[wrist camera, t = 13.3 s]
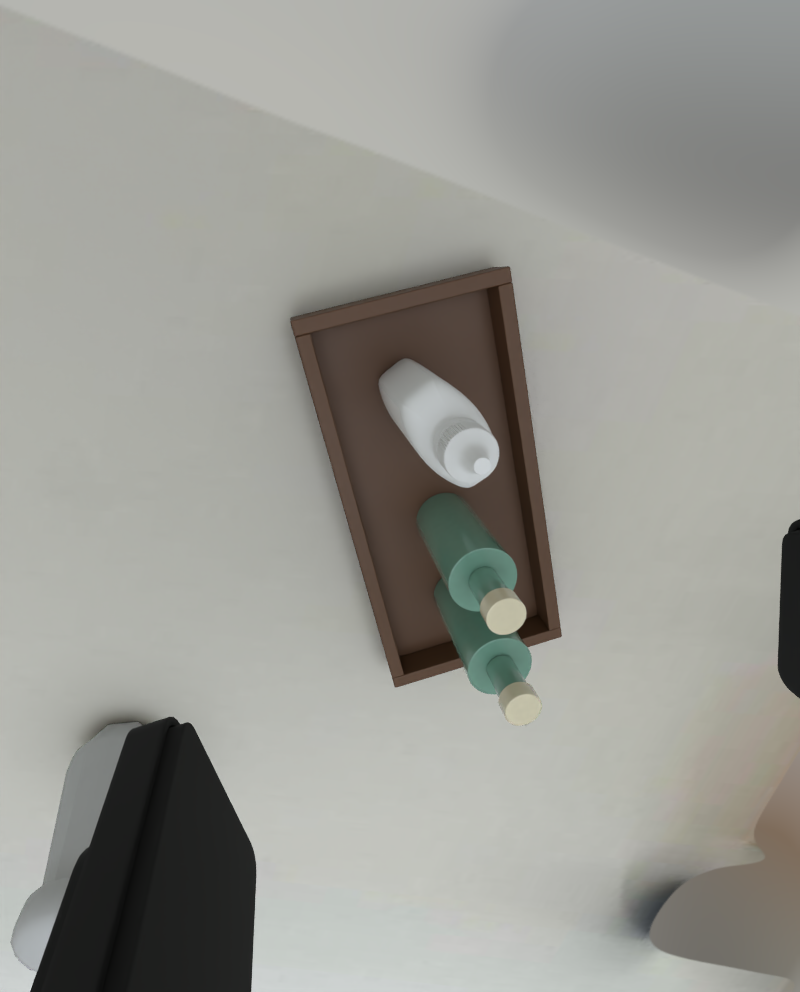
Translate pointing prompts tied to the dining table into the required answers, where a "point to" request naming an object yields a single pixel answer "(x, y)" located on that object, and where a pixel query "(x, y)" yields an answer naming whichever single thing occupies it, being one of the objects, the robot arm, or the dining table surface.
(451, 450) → the white plastic bottle
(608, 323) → the dining table surface
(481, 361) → the tray
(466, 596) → the green bottle
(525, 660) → the green bottle
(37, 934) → the salt shaker
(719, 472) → the dining table surface
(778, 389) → the dining table surface
